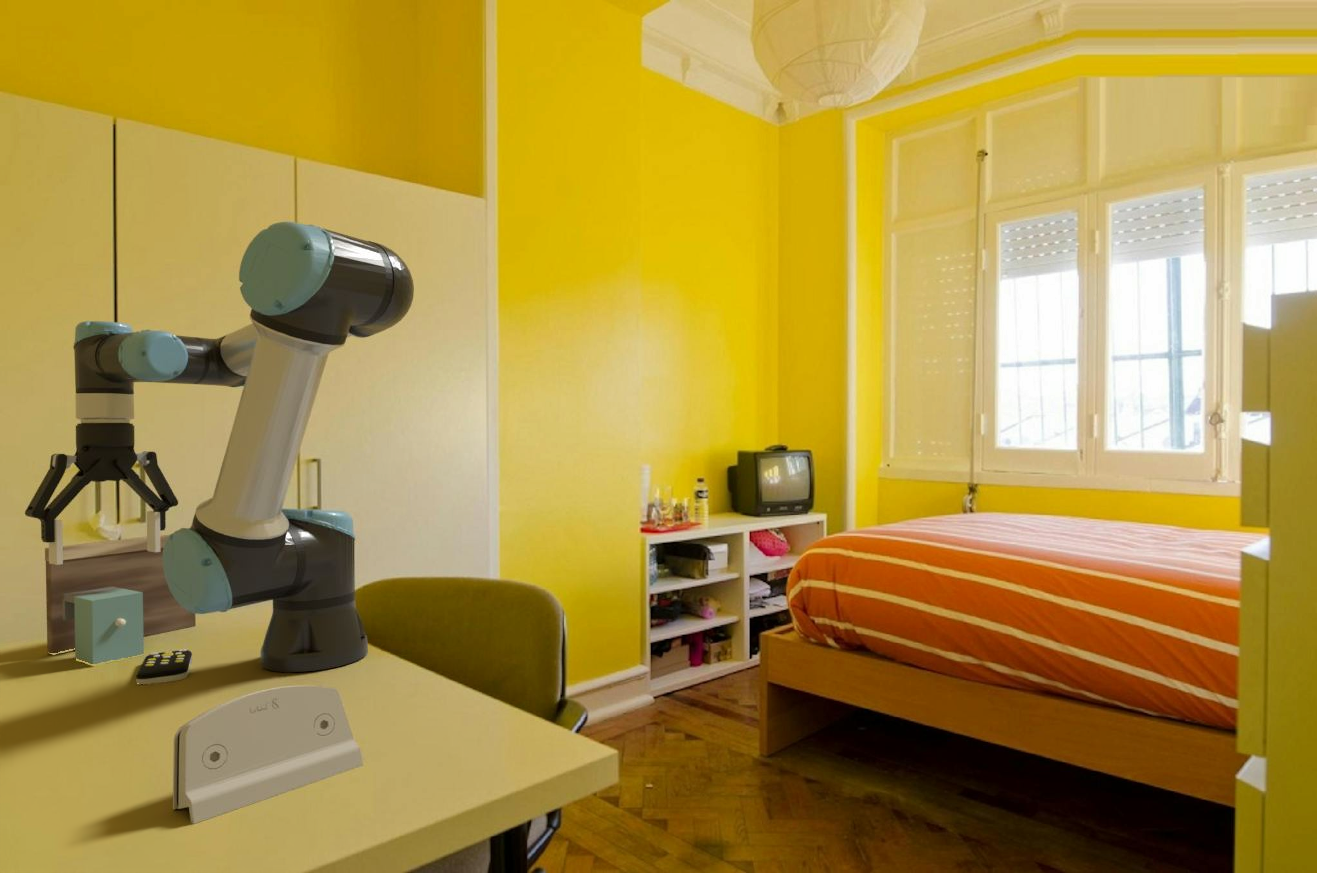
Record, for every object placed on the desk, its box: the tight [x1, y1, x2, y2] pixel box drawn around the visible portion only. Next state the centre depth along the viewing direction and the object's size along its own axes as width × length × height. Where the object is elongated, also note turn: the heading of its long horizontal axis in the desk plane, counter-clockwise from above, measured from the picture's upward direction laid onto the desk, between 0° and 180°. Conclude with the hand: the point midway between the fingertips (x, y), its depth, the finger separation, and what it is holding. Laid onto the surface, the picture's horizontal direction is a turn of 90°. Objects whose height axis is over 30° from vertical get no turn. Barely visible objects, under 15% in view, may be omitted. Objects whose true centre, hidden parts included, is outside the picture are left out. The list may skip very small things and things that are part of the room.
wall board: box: [44, 533, 196, 653], centre depth 135 cm, size 2×22×17 cm, turn 148°
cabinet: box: [62, 587, 145, 664], centre depth 124 cm, size 11×7×10 cm, turn 58°
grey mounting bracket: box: [172, 684, 364, 825], centre depth 78 cm, size 17×5×10 cm, turn 139°
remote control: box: [135, 648, 193, 685], centre depth 116 cm, size 6×13×2 cm, turn 27°
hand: (107, 557), depth 123 cm, fingers open, 13 cm apart
